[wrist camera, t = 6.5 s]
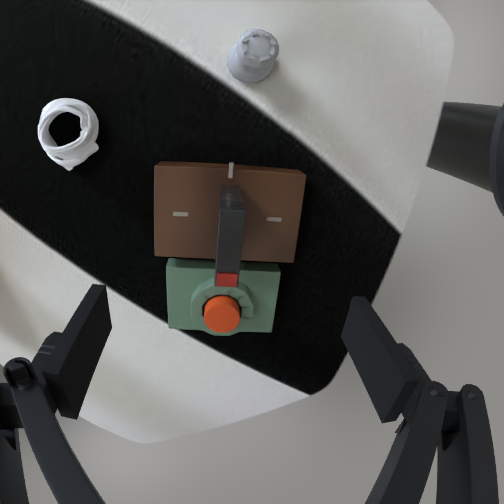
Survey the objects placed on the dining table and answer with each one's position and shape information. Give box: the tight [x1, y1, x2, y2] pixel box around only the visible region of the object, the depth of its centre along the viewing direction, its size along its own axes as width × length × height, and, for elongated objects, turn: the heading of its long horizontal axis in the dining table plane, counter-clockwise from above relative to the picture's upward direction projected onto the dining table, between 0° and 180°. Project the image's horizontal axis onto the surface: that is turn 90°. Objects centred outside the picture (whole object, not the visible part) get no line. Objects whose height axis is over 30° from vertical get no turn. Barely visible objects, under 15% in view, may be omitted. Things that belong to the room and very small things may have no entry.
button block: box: [166, 258, 281, 336], centre depth 35 cm, size 12×8×4 cm, turn 85°
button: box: [204, 295, 240, 333], centre depth 33 cm, size 4×4×2 cm
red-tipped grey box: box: [214, 185, 246, 288], centre depth 27 cm, size 6×2×8 cm, turn 174°
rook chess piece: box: [227, 29, 279, 83], centre depth 24 cm, size 4×4×8 cm
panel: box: [154, 161, 306, 263], centre depth 32 cm, size 14×10×3 cm
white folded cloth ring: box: [38, 98, 99, 171], centre depth 26 cm, size 8×7×5 cm
